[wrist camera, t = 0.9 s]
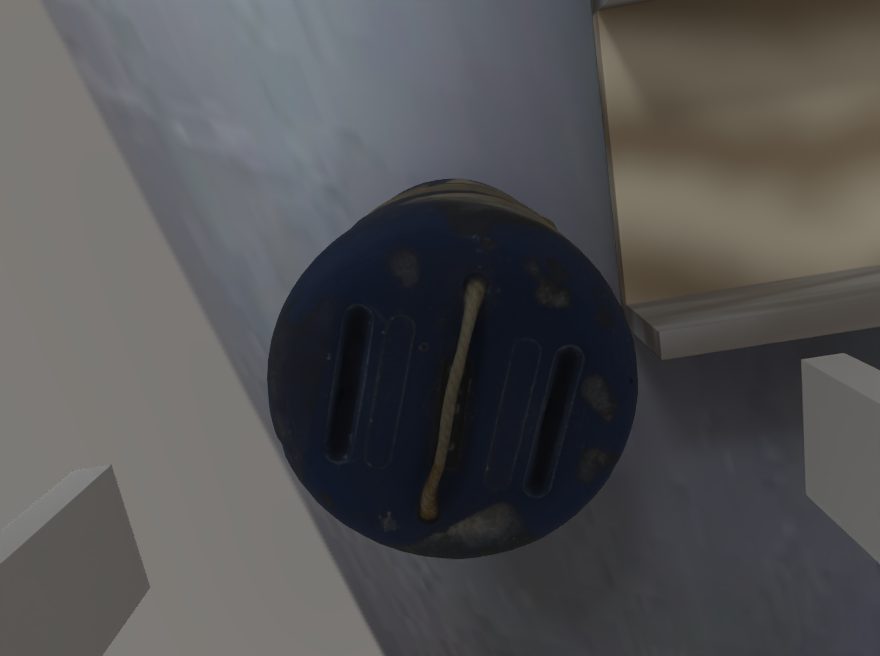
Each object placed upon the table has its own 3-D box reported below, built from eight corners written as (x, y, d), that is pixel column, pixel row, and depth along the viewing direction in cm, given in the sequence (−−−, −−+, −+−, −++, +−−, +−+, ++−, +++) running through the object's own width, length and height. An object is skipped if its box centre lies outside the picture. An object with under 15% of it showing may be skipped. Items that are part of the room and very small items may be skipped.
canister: (585, 230, 31) (755, 323, 14) (496, 398, 33) (548, 662, 16) (402, 142, 30) (338, 123, 13) (324, 321, 33) (180, 512, 15)
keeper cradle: (589, -14, 29) (625, -57, 23) (918, -76, 28) (1043, -137, 22) (623, 323, 32) (661, 360, 27) (913, 277, 32) (1018, 305, 26)
